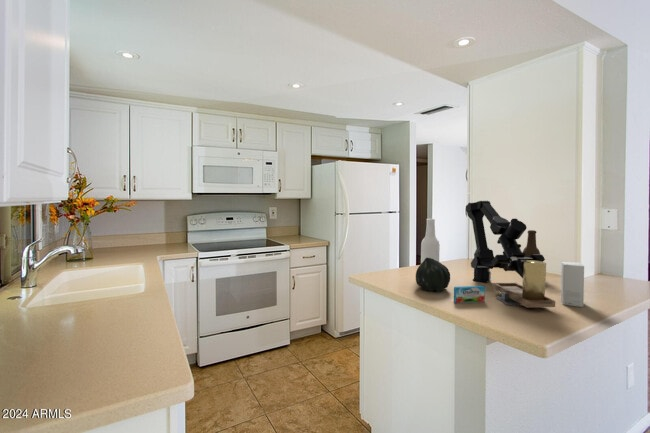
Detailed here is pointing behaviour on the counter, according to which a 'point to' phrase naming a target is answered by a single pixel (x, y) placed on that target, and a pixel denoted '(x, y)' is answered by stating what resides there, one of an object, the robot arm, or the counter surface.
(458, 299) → the yogurt
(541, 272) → the cylinder
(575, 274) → the skincare box
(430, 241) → the alcohol
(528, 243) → the beer bottle
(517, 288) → the brown wooden tray
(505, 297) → the pivot stand
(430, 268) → the squash
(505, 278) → the counter surface
